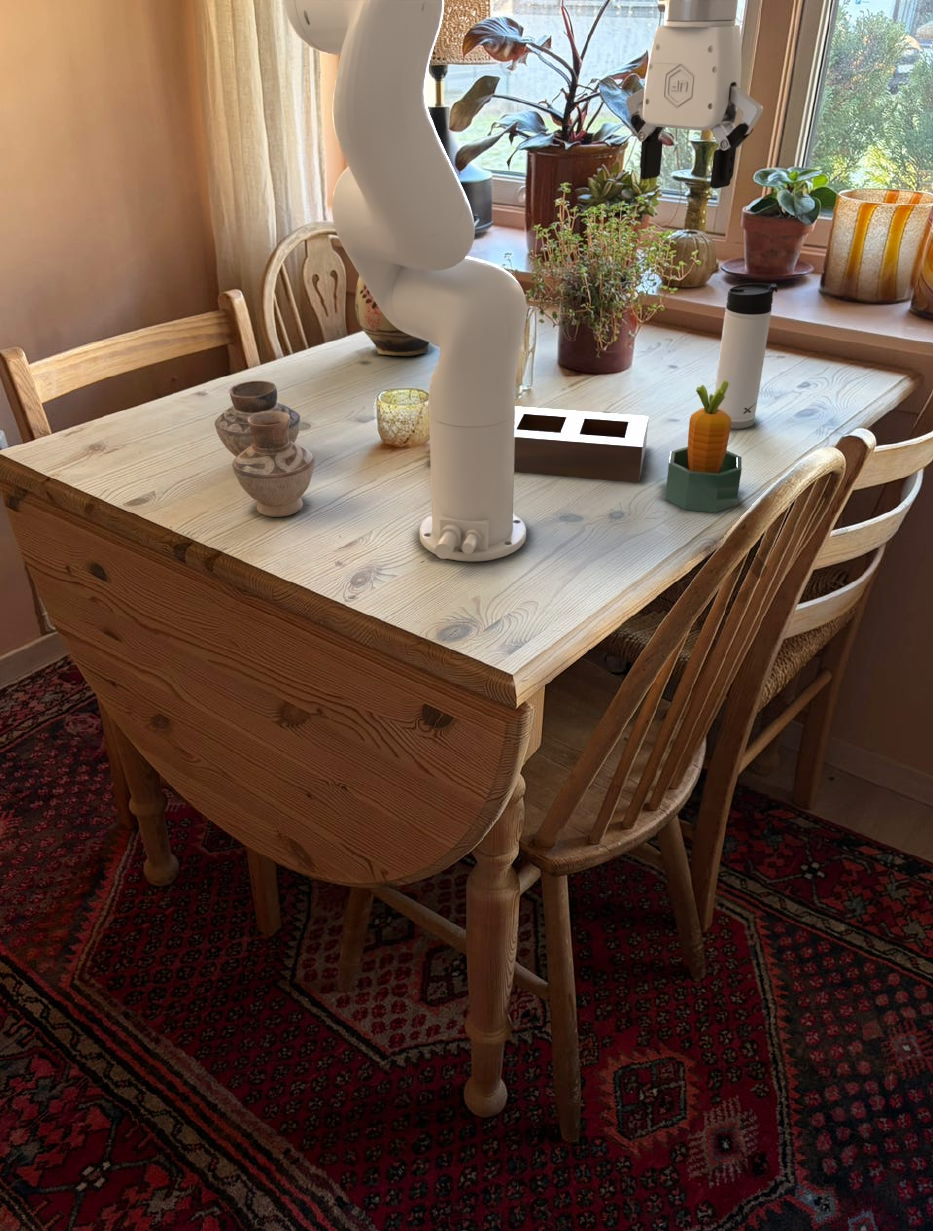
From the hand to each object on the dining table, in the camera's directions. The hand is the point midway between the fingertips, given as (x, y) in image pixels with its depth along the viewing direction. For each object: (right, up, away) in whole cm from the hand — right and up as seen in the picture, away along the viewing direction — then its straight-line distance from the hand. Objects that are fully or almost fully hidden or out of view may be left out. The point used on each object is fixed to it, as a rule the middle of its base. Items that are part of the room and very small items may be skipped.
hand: (684, 182), depth 115 cm
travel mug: (+14, -22, +32) cm, 42 cm away
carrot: (+4, -36, +11) cm, 37 cm away
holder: (+4, -35, +11) cm, 37 cm away
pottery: (-51, -33, +15) cm, 63 cm away
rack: (-15, -29, +22) cm, 39 cm away
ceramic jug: (-38, -3, +63) cm, 73 cm away
